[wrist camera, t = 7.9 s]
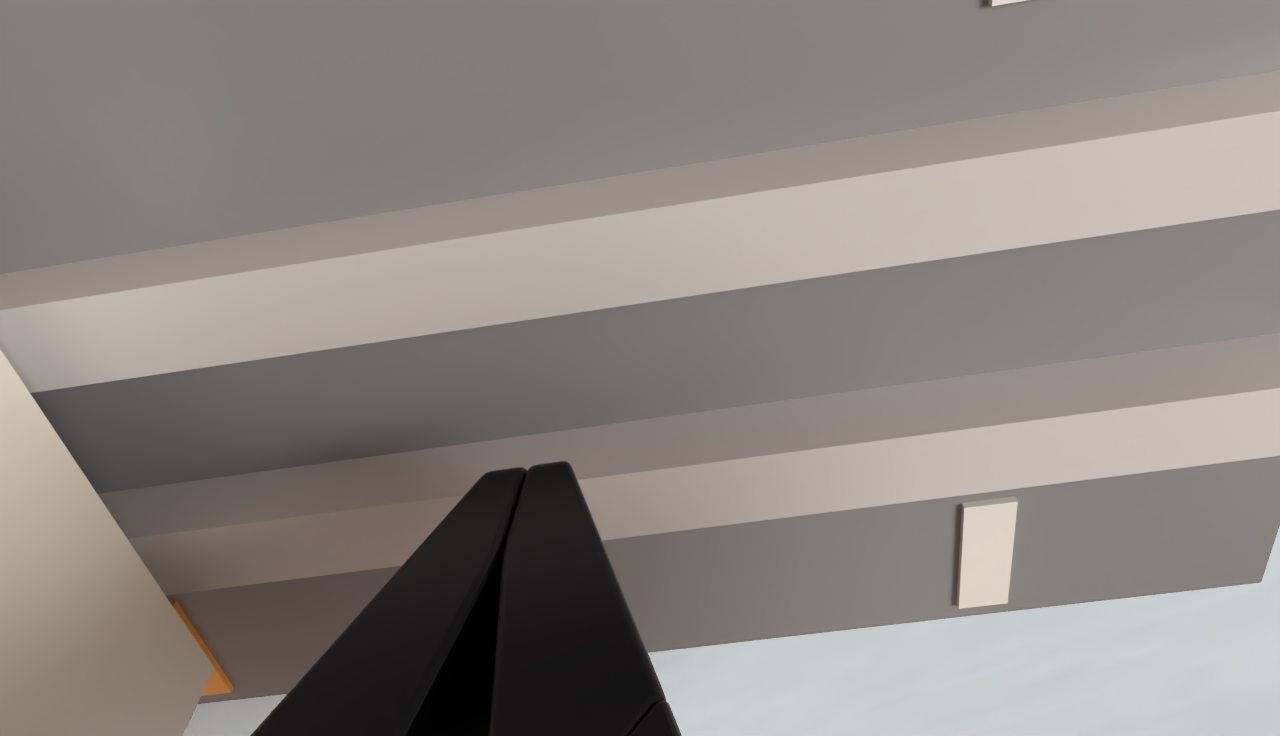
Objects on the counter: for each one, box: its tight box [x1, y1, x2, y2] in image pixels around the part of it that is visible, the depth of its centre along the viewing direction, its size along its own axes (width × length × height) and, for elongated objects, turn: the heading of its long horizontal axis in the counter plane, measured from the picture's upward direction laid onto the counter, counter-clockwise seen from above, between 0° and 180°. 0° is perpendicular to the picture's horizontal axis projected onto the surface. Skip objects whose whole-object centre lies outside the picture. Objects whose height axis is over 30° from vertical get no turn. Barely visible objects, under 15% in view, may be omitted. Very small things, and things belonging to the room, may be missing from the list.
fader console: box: [0, 0, 1280, 704], centre depth 11 cm, size 20×11×3 cm, turn 99°
